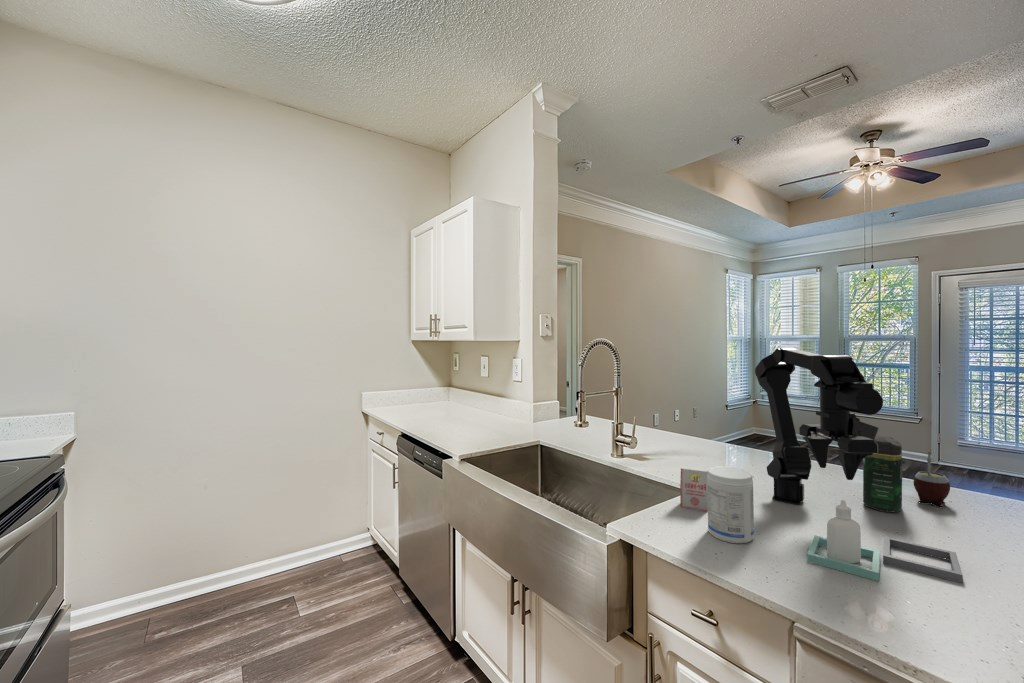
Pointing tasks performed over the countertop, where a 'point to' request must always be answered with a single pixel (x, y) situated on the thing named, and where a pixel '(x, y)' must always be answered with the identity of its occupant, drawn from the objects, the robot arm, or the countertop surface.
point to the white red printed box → (693, 489)
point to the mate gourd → (931, 486)
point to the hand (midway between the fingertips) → (835, 473)
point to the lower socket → (845, 566)
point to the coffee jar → (883, 476)
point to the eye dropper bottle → (843, 536)
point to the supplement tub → (730, 504)
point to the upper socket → (921, 567)
